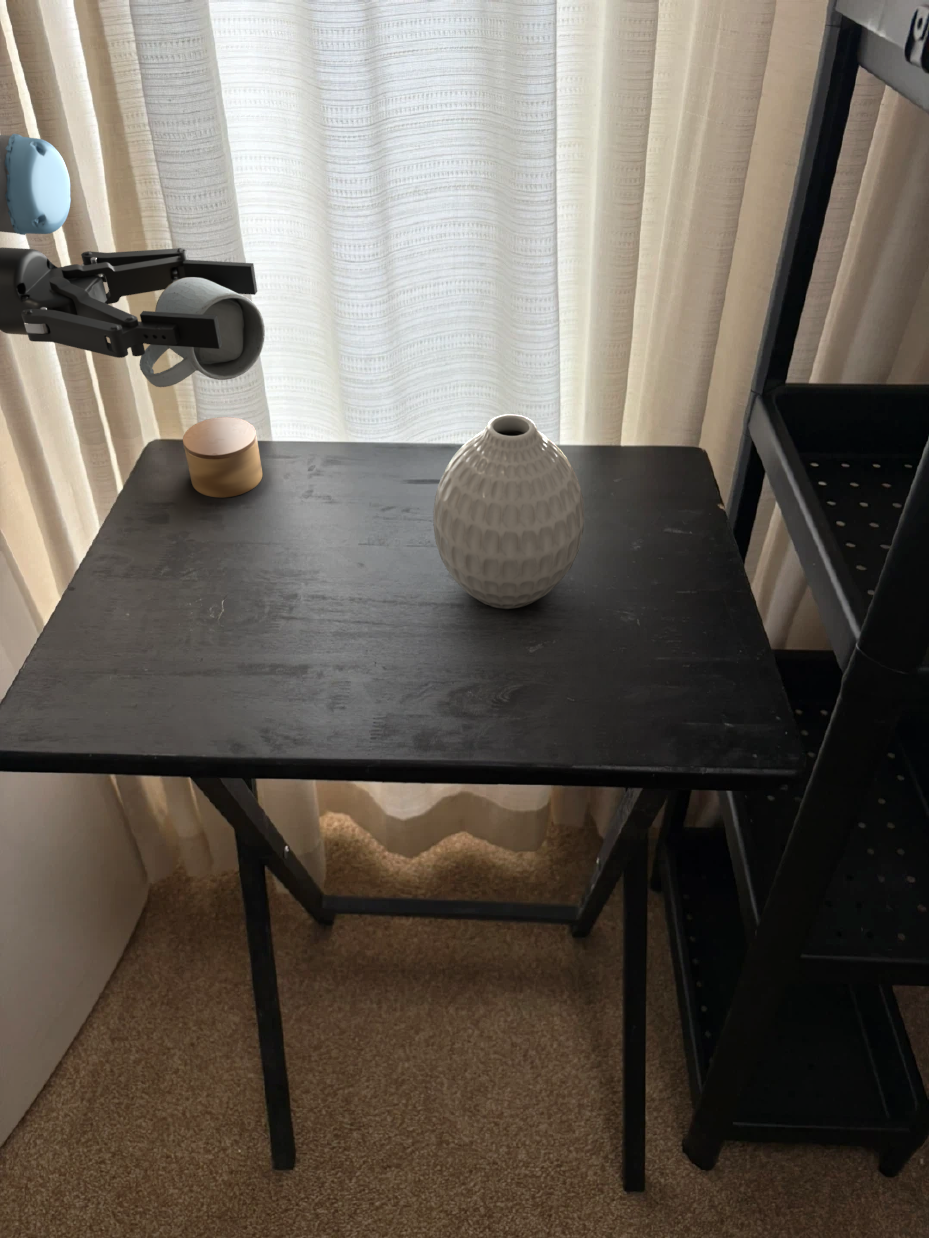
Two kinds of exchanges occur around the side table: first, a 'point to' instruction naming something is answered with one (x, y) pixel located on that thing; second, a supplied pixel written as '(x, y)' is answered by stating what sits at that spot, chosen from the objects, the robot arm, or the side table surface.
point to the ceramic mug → (235, 325)
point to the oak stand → (223, 456)
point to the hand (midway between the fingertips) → (237, 304)
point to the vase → (508, 514)
